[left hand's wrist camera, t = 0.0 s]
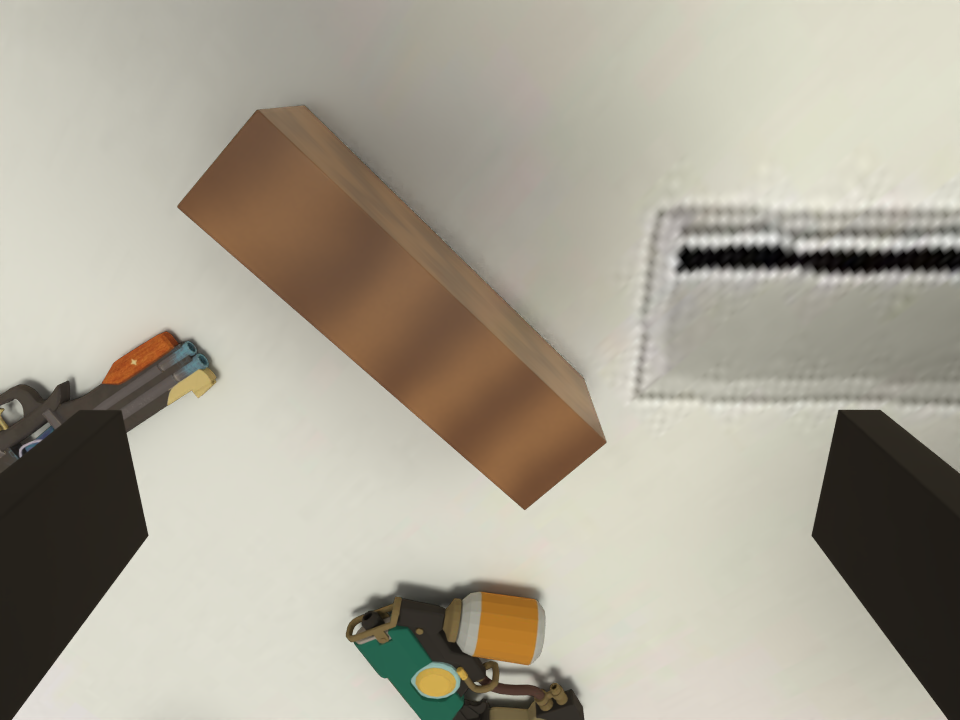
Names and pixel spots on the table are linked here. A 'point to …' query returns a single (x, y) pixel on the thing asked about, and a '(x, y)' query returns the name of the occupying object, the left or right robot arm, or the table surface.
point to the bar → (396, 300)
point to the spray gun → (460, 655)
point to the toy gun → (112, 392)
